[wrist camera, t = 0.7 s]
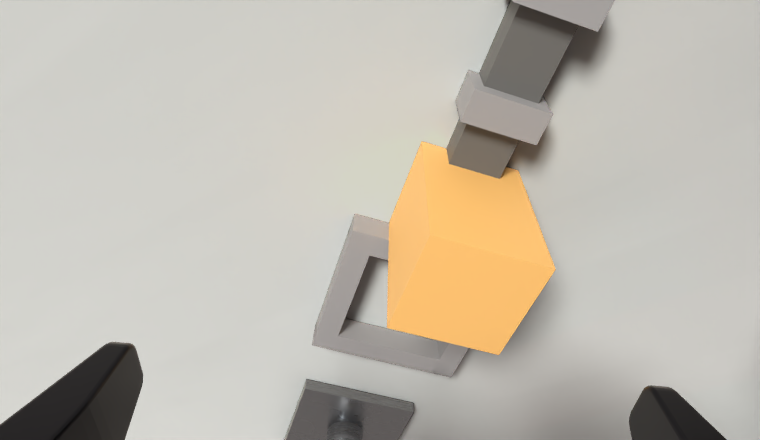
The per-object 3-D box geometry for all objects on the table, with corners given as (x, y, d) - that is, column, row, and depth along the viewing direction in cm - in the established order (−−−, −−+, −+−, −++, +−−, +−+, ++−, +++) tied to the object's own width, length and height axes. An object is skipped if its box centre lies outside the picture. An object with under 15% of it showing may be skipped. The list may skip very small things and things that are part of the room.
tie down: (481, -147, 15) (522, -145, 10) (694, -63, 16) (825, -24, 11) (315, 326, 26) (296, 437, 21) (449, 358, 27) (461, 470, 22)
